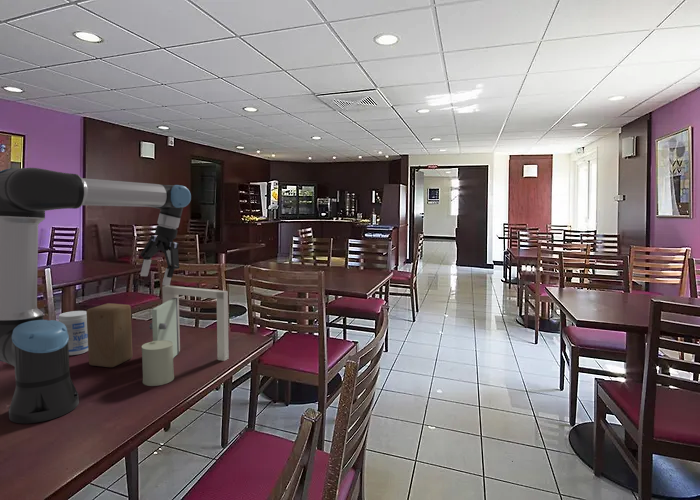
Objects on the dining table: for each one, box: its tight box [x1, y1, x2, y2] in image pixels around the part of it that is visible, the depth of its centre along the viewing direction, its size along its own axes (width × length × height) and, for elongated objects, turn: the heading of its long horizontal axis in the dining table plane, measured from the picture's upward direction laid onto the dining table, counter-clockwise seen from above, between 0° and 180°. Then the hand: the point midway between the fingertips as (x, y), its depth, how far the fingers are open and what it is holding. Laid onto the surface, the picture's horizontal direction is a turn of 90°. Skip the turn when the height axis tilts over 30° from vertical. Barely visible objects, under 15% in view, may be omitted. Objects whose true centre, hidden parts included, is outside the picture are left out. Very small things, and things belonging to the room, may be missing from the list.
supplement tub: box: [58, 310, 88, 356], centre depth 154 cm, size 10×10×15 cm
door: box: [148, 298, 180, 359], centre depth 145 cm, size 5×18×21 cm, turn 1°
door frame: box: [161, 285, 230, 362], centre depth 153 cm, size 2×27×25 cm, turn 71°
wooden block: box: [85, 302, 133, 368], centre depth 145 cm, size 10×10×20 cm
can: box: [141, 340, 175, 387], centre depth 131 cm, size 9×9×12 cm
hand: (154, 280), depth 158 cm, fingers open, 13 cm apart
